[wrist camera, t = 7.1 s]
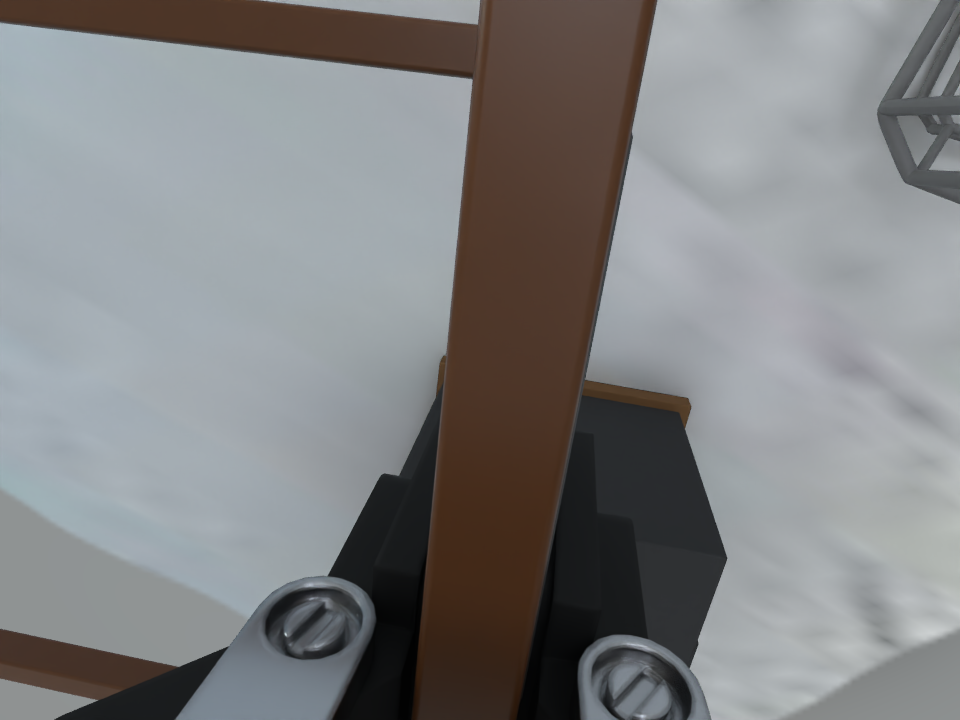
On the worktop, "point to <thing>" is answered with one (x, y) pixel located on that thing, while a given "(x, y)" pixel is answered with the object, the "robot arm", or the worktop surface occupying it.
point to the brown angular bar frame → (455, 298)
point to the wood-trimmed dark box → (645, 501)
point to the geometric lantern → (925, 108)
